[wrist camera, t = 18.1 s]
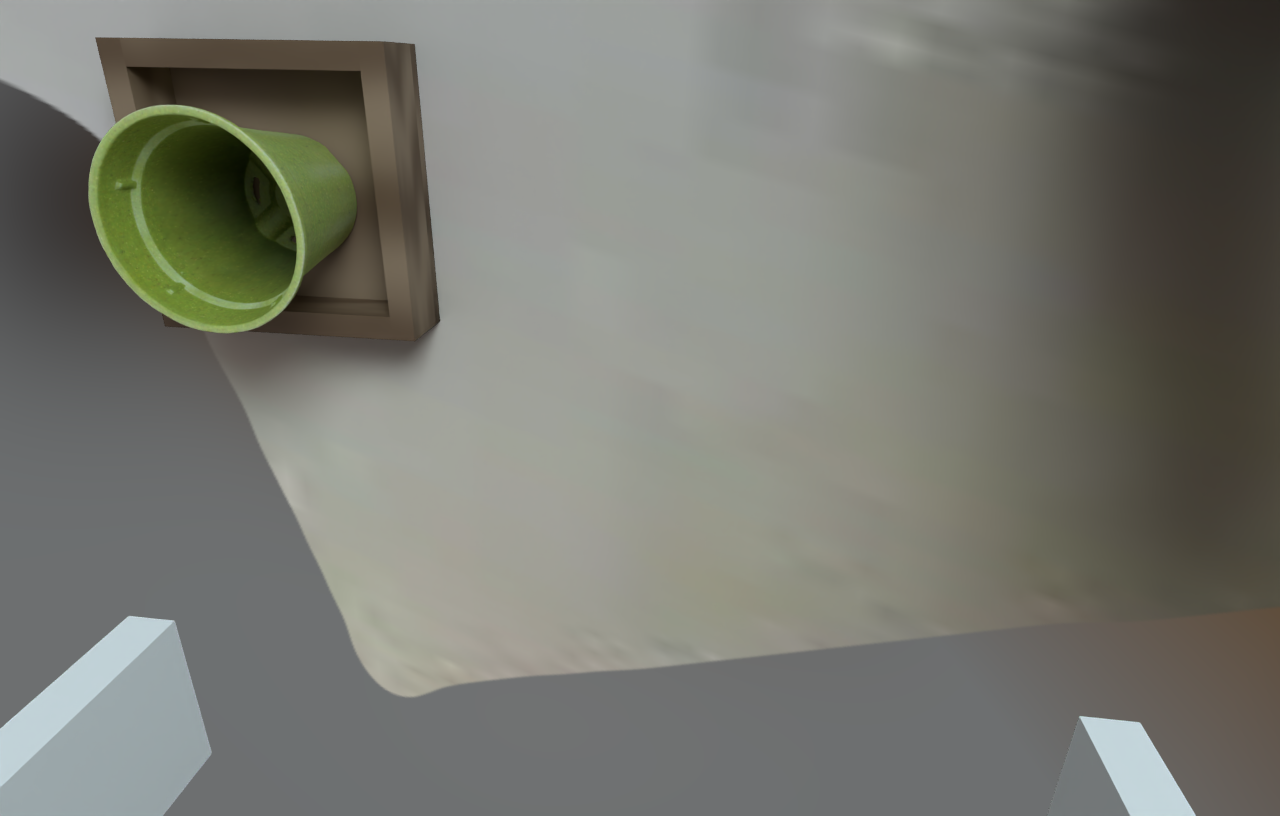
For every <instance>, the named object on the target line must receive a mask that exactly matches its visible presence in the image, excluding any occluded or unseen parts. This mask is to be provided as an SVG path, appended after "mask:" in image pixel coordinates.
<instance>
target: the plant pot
mask: <svg viewBox="0 0 1280 816" xmlns="http://www.w3.org/2000/svg"><path fill="white" fill-rule="evenodd" d="M255 177H256V178H259V180H260V184H259V187H260V189H259V190H260V191H259V192H260V199H259V200H260V202H261V203H260V204H259V203H258V202H257V200H256V198H255V195H254V192H253V180H254V178H255ZM89 205H90V210H91V215H92V218H93V222H94V226H95V229H96V232H97V235H98V238H99V240H100V242H101V244H102V246H103V249H104V250H105V252H106V253H107V255H108V257H109V259H110V261H111V262H112V264H113V266H114V267H115V269H116V271H117V272H118V273H119V275H120V276H121V277H122V278H123V280H124V281H125V282H126V283H127V284H128V286H129V287H130V288H131V289H132V290H133V291H134V292H135V293H136V294H137V295H138V296H139V297H140V298H141V299H142V300H144V301H145V302H146V303H148V304H149V305H150V306H152V307H153V308H155V309H156V310H157V311H159V312H161V313H163V314H164V315H166V316H167V317H169V318H171V319H173V320H174V321H176V322H178V323H180V324H183V325H185V326H188V327H191V328H194V329H197V330H202V331H208V332H214V333H237V332H244V331H248V330H252V329H255V328H258V327H260V326H262V325H264V324H266V323H267V322H269V321H271V320H272V319H274V318H275V317H276V316H278V315H279V314H280V313H281V312H282V311H283V310H284V309H285V308H286V307H287V306H288V305H289V304H290V302H291V301H292V299H293V298H294V296H295V295H296V293H297V291H298V289H299V287H300V284H301V282H302V279H303V276H304V275H305V274H306V273H308V272H309V271H310V270H311V269H312V268H313V267H314V266H316V265H317V264H318V263H319V262H320V261H322V260H323V259H324V258H325V257H326V256H328V255H329V254H330V253H331V252H333V251H334V250H335V249H336V248H338V247H339V246H340V245H341V244H342V243H343V242H344V240H345V239H346V238H347V237H348V235H349V234H350V232H351V230H352V228H353V226H354V223H355V219H356V213H357V200H356V194H355V190H354V186H353V183H352V180H351V178H350V176H349V174H348V172H347V171H346V170H345V168H344V167H343V166H342V165H341V164H340V163H339V162H338V160H337V159H336V158H335V157H334V156H333V155H332V154H331V152H330V151H329V150H328V149H327V148H326V147H325V146H324V145H322V144H321V143H319V142H317V141H315V140H313V139H311V138H308V137H305V136H302V135H297V134H289V133H282V132H272V131H262V130H255V129H248V128H241V127H238V126H237V125H235V124H234V123H232V122H230V121H229V120H227V119H225V118H223V117H221V116H219V115H216V114H214V113H212V112H209V111H206V110H203V109H200V108H196V107H191V106H184V105H157V106H151V107H147V108H143V109H140V110H137V111H135V112H133V113H131V114H129V115H127V116H126V117H124V118H122V119H121V120H120V121H118V122H117V123H116V124H115V125H114V126H113V127H112V128H111V129H110V130H109V131H108V132H107V133H106V135H105V136H104V137H103V139H102V140H101V142H100V144H99V146H98V148H97V150H96V152H95V154H94V157H93V161H92V164H91V168H90V175H89ZM292 236H296V243H295V242H293V241H292V239H291V237H292Z"/></svg>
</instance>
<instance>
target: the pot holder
mask: <svg viewBox="0 0 1280 816" xmlns="http://www.w3.org/2000/svg"><path fill="white" fill-rule="evenodd" d="M95 38H96V37H95ZM96 42H97V46H98V51H99V55H100V59H101V63H102V67H103V71H104V75H105V80H106V84H107V88H108V92H109V96H110V100H111V104H112V109H113V113H114V117H115V121H116V123H117V122H118V121H120V120H121V119H122V118H124V117H126V116H127V115H129V114H131V113H133V112H135V111H137V110H140V109H143V108H147V107H151V106H157V105H184V106H191V107H196V108H200V109H203V110H206V111H209V112H212V113H214V114H216V115H219V116H221V117H223V118H225V119H227V120H229V121H230V122H232V123H234V124H235V125H237V126H238V127H241V128H248V129H255V130H262V131H272V132H282V133H289V134H297V135H302V136H305V137H308V138H311V139H313V140H315V141H317V142H319V143H321V144H322V145H324V146H325V147H326V148H327V149H328V150H329V151H330V152H331V154H332V155H333V156H334V157H335V158H336V159H337V160H338V162H339V163H340V164H341V165H342V166H343V167H344V168H345V170H346V171H347V172H348V174H349V176H350V178H351V180H352V183H353V186H354V190H355V194H356V200H357V213H356V219H355V223H354V226H353V228H352V230H351V232H350V234H349V235H348V237H347V238H346V239H345V240H344V242H343V243H342V244H341V245H340V246H339V247H338V248H336V249H335V250H334V251H333V252H331V253H330V254H329V255H328V256H326V257H325V258H324V259H323V260H322V261H320V262H319V263H318V264H317V265H316V266H314V267H313V268H312V269H311V270H310V271H309V272H308V273H306V274H305V275H304V276H303V279H302V282H301V284H300V287H299V289H298V291H297V293H296V295H295V296H294V298H293V299H292V301H291V302H290V304H289V305H288V306H287V307H286V308H285V309H284V310H283V311H282V312H281V313H280V314H279V315H278V316H276V317H275V318H274V319H272V320H271V321H269V322H267V323H266V324H264V325H262V326H260V327H258V328H255V329H252V330H248V331H252V332H269V333H286V334H303V335H319V336H336V337H353V338H370V339H387V340H404V341H416V340H417V339H418V338H419V337H421V336H422V335H423V334H424V333H426V332H427V331H428V330H429V329H431V328H432V327H433V326H434V325H436V324H437V323H438V322H439V321H440V316H439V305H438V294H437V283H436V272H435V261H434V251H433V240H432V229H431V218H430V207H429V196H428V185H427V174H426V163H425V152H424V141H423V131H422V120H421V109H420V98H419V87H418V76H417V65H416V54H415V44H407V43H395V42H380V41H309V40H238V39H167V38H96ZM259 184H260V180H259V178H256V177H255V178H254V180H253V192H254V195H255V198H256V200H257V202H258V203H259V204H260V203H261V202H260V200H259V199H260V192H259V191H260V190H259V189H260V187H259ZM291 239H292V241H293V242H295V243H296V236H292V237H291ZM162 316H163V320H164V324H165V326H168V327H184V328H185V327H186V328H191V327H188V326H185V325H183V324H180V323H178V322H176V321H174V320H173V319H171V318H169V317H167V316H166V315H164V314H163V313H162Z"/></svg>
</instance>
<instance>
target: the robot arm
mask: <svg viewBox="0 0 1280 816" xmlns="http://www.w3.org/2000/svg"><path fill="white" fill-rule="evenodd" d="M211 754H212V752H211V748H210V745H209V741H208V738H207V734H206V730H205V727H204V723H203V720H202V716H201V713H200V709H199V706H198V702H197V698H196V695H195V691H194V688H193V684H192V681H191V677H190V674H189V670H188V667H187V663H186V660H185V656H184V652H183V649H182V645H181V641H180V638H179V634H178V631H177V627H176V624H175V621H171V620H162V619H152V618H143V617H134V616H128V617H127V618H126V619H125V620H124V621H123V622H121V623H120V624H119V625H118V626H117V627H116V628H115V629H113V630H112V631H111V632H110V633H109V634H108V635H107V636H106V637H104V638H103V639H102V640H101V641H100V642H99V643H97V644H96V645H95V646H94V647H93V648H92V649H91V650H89V651H88V652H87V653H86V654H85V655H84V656H83V657H81V658H80V659H79V660H78V661H77V662H76V663H75V664H73V665H72V666H71V667H70V668H69V669H68V670H67V671H66V672H64V673H63V674H62V675H61V676H60V677H59V678H58V679H56V680H55V681H54V682H53V683H52V684H51V685H50V686H49V687H47V688H46V689H45V690H44V691H43V692H42V693H40V694H39V695H38V696H37V697H36V698H35V699H34V700H33V701H31V702H30V703H29V704H28V705H27V706H26V707H25V708H24V709H22V710H21V711H20V712H19V713H18V714H17V715H16V716H14V717H13V718H12V719H11V720H10V721H9V722H7V723H6V724H5V725H4V726H3V727H2V728H1V729H0V816H163V815H164V813H165V812H166V811H167V810H168V808H169V807H170V806H171V805H172V803H173V802H174V801H175V800H176V798H177V797H178V796H179V794H180V793H181V792H182V791H183V789H184V788H185V787H186V786H187V784H188V783H189V782H190V780H191V779H192V778H193V777H194V775H195V774H196V773H197V772H198V770H199V769H200V768H201V767H202V765H203V764H204V763H205V761H206V760H207V759H208V758H209V756H210V755H211ZM1047 816H1196V815H1195V814H1194V812H1193V810H1192V808H1191V807H1190V805H1189V803H1188V802H1187V800H1186V799H1185V797H1184V795H1183V794H1182V792H1181V790H1180V788H1179V787H1178V785H1177V783H1176V782H1175V780H1174V778H1173V777H1172V775H1171V773H1170V772H1169V770H1168V768H1167V767H1166V765H1165V763H1164V762H1163V760H1162V758H1161V757H1160V755H1159V753H1158V752H1157V750H1156V748H1155V747H1154V745H1153V744H1152V742H1151V740H1150V738H1149V737H1148V735H1147V733H1146V732H1145V730H1144V728H1143V727H1142V725H1141V723H1140V722H1131V721H1121V720H1112V719H1103V718H1093V717H1083V716H1079V718H1078V721H1077V724H1076V727H1075V731H1074V734H1073V737H1072V740H1071V743H1070V746H1069V749H1068V752H1067V755H1066V758H1065V761H1064V764H1063V768H1062V771H1061V774H1060V777H1059V780H1058V783H1057V786H1056V789H1055V792H1054V796H1053V798H1052V801H1051V805H1050V808H1049V811H1048V814H1047Z"/></svg>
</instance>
